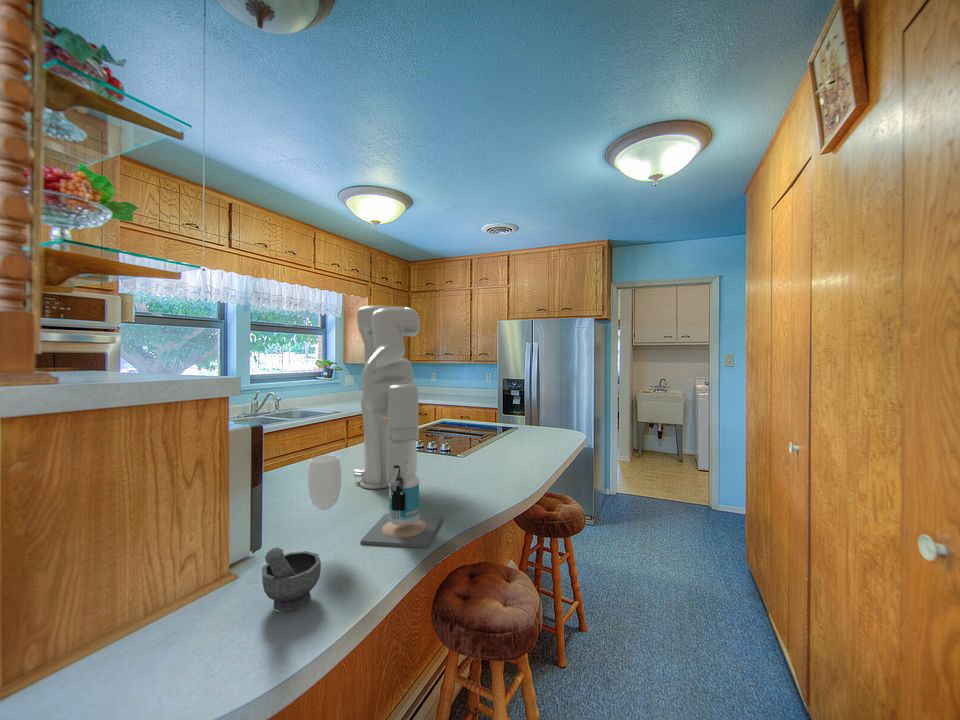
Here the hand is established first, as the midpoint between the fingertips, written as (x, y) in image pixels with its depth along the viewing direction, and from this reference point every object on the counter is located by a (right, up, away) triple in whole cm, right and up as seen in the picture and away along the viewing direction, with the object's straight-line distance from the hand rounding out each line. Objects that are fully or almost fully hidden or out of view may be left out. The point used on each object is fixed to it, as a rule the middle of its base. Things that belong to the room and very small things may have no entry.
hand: (404, 503), depth 102 cm
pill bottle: (0, -5, 0) cm, 5 cm away
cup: (-16, -7, -9) cm, 20 cm away
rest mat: (0, -7, 0) cm, 7 cm away
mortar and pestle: (-15, -8, -29) cm, 34 cm away
